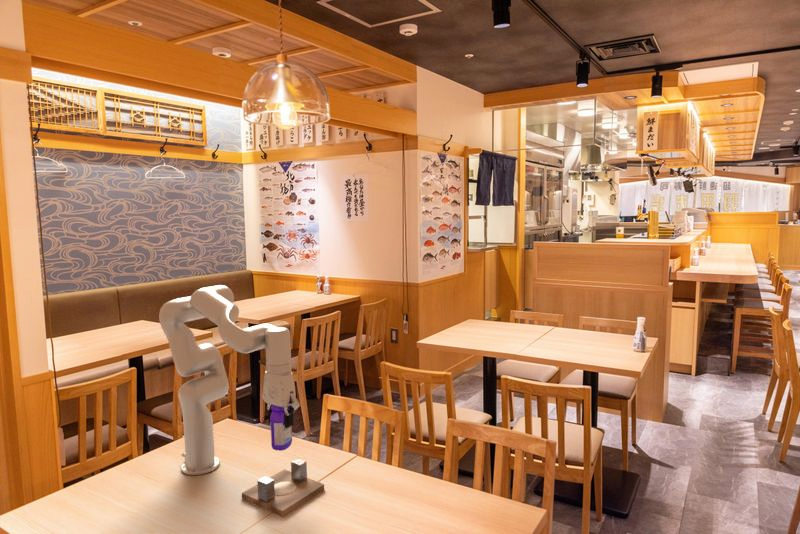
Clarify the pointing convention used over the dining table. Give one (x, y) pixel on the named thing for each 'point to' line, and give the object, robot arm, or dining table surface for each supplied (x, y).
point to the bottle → (279, 429)
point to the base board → (285, 493)
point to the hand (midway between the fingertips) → (281, 423)
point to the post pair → (267, 484)
